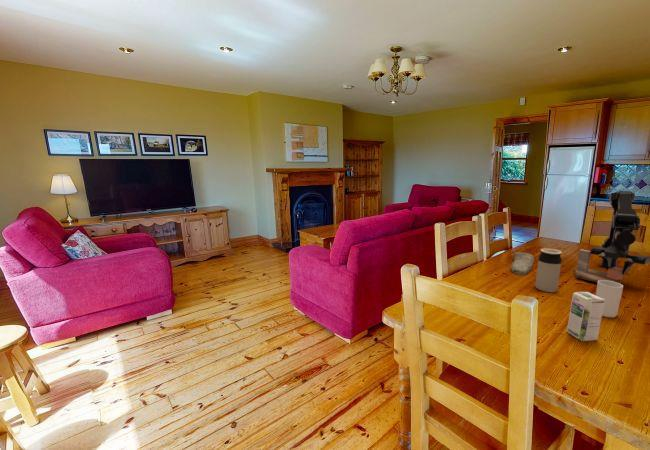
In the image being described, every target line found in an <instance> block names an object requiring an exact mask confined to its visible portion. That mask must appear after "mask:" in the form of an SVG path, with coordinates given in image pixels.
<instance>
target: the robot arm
mask: <svg viewBox="0 0 650 450" xmlns="http://www.w3.org/2000/svg"><path fill="white" fill-rule="evenodd" d="M635 196H636V193H635V192H633V191H630V190H619V191H618V190H617V192H615V191H614V192H611V193H610V194H609V198H608V199H609V202H610V206H611V207H612V215H611V216H612V217H611V222H610V227H609V233H608V236H607V237H606V238H605V239H604V240H603V243H601V246H595V247H592V248H591V249H590V250H589V251H590V253H591V254H590V255H595V256H598V257H599V258H601V263H599V264H598V265H597V266H598V267H602V268H606V271H607V272H608V269H610V268H613V267H617V268H620V266H619V265H617V264H618V260H619V259H626V260H625V261H624V262H623V263H624V264H623V268H622V269H623V271H622V275H623V276H624V275H625V274H626V273H627V272H628V270H629V269H630V268H631V267H632V265H635V264H638V265H647V264H650V256H649V255H644V254H635V255H631V254H630V252H631V251H630V246H631V245H633V244H634V243H635V242H636V235H634V233H633V231H638V230H639V228H640V227H641V218H640V216H639V215H638V214H637V211H636V210H634V209H633V205H632V203H634V201H635V198H636V197H635Z"/></svg>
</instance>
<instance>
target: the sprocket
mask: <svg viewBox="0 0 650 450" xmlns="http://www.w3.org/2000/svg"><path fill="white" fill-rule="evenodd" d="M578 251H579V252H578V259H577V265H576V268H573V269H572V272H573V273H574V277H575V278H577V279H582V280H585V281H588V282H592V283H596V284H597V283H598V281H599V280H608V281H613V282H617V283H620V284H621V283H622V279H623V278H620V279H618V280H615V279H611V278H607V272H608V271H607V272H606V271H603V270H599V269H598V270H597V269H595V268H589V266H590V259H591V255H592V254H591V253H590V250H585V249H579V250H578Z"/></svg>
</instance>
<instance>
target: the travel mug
mask: <svg viewBox="0 0 650 450" xmlns="http://www.w3.org/2000/svg"><path fill="white" fill-rule="evenodd" d="M562 254H563V252H562V250H559V249H555V248H547V247H546V248H540V254H539V256H538V262H537V268H536V278H535V286H534V287H535V288H536V289H538V290H539V291H542V292H545V293H555V292H558V287H559V281H560V275H561V268H562V260H563V259H562V257H561V255H562Z"/></svg>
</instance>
